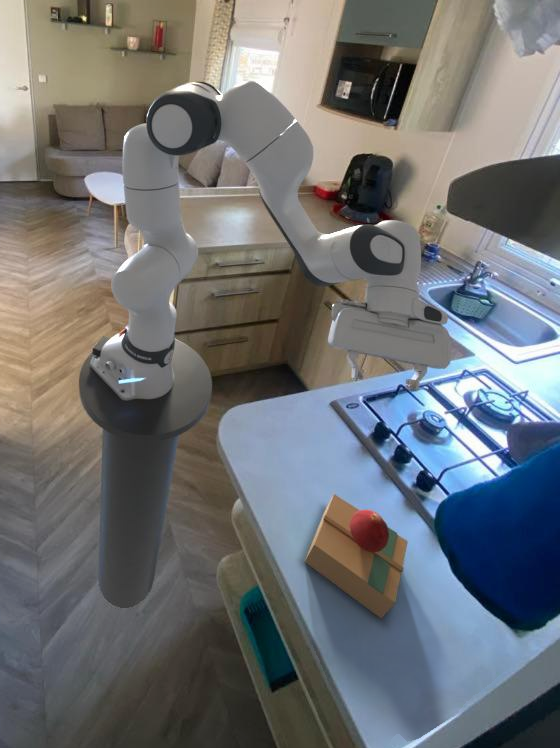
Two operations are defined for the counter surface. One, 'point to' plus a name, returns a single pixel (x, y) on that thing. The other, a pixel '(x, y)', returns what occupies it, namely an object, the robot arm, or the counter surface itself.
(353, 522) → the red round fruit
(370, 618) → the counter surface
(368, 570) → the brown cardboard box
